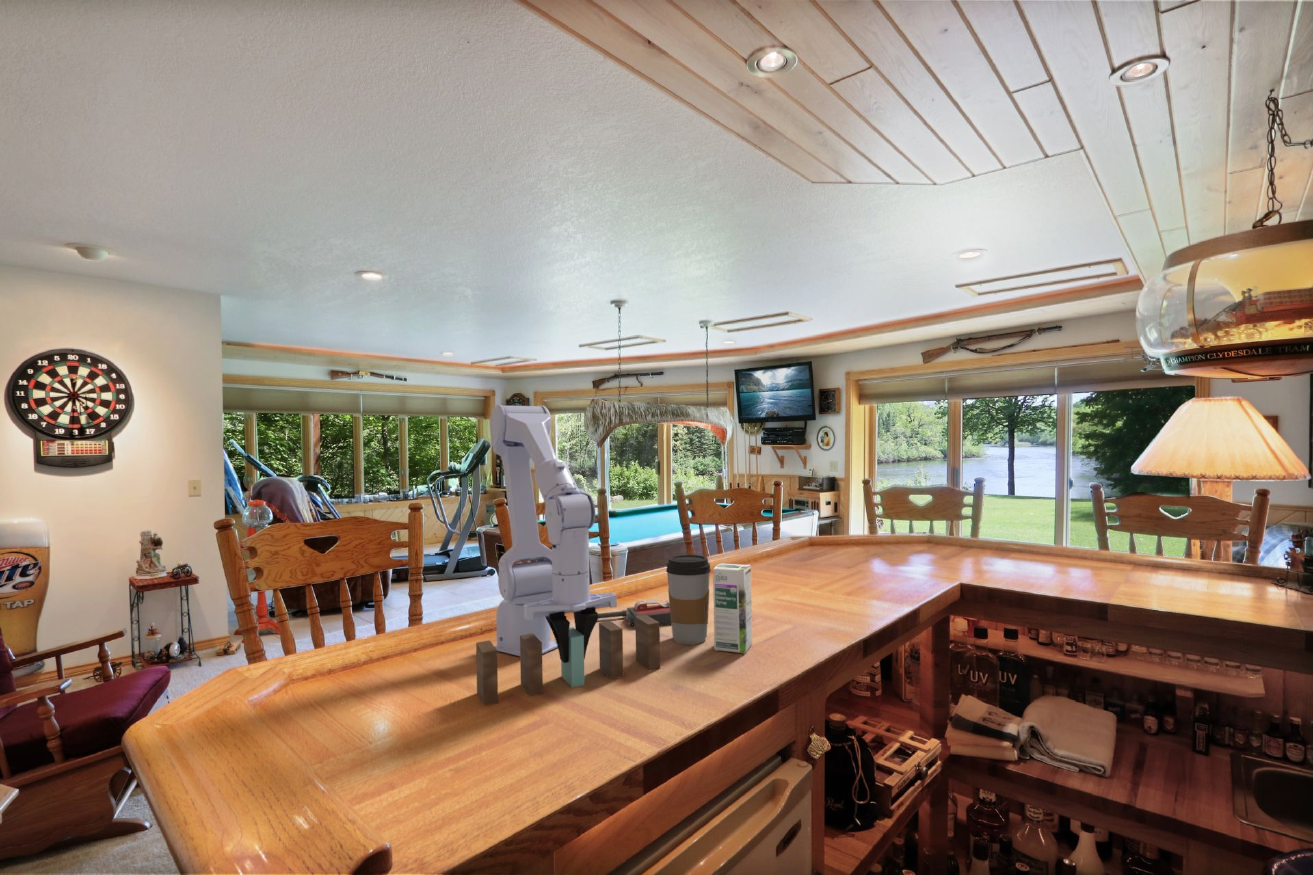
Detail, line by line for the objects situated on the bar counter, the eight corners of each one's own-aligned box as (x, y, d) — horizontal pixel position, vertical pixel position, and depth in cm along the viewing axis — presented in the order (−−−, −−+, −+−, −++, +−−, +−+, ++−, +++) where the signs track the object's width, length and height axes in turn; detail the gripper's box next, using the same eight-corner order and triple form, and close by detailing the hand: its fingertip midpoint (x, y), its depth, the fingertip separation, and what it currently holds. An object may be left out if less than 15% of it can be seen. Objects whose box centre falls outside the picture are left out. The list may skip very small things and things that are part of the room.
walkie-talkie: (681, 612, 131) (589, 621, 126) (680, 592, 132) (589, 600, 126) (694, 623, 123) (597, 634, 117) (694, 602, 123) (597, 611, 118)
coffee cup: (709, 647, 107) (707, 563, 108) (663, 645, 109) (661, 562, 109) (714, 633, 116) (713, 554, 116) (671, 631, 117) (670, 553, 117)
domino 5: (649, 671, 97) (648, 624, 97) (636, 661, 102) (635, 616, 102) (660, 668, 98) (659, 622, 98) (646, 659, 102) (645, 614, 103)
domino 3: (571, 687, 91) (571, 637, 91) (561, 676, 96) (560, 628, 96) (584, 684, 92) (583, 635, 92) (573, 673, 97) (572, 626, 97)
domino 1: (483, 705, 85) (482, 652, 85) (477, 693, 90) (476, 642, 90) (498, 702, 86) (497, 650, 86) (490, 690, 91) (489, 640, 91)
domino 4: (611, 679, 94) (610, 630, 94) (599, 668, 99) (598, 622, 99) (623, 676, 95) (622, 628, 95) (611, 666, 99) (610, 620, 100)
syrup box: (713, 650, 106) (711, 567, 106) (722, 640, 111) (721, 561, 111) (745, 654, 104) (743, 569, 104) (753, 643, 109) (751, 563, 109)
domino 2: (529, 696, 88) (528, 644, 88) (520, 684, 93) (519, 635, 93) (542, 693, 89) (541, 642, 89) (533, 681, 94) (532, 633, 94)
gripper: (531, 582, 87) (533, 676, 87) (623, 570, 94) (625, 658, 94) (519, 573, 93) (521, 661, 93) (606, 563, 100) (608, 645, 100)
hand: (572, 659), depth 94 cm, fingers closed on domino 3, 2 cm apart
